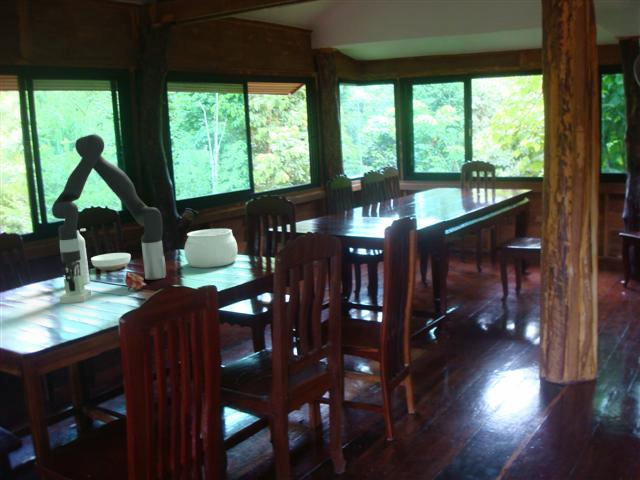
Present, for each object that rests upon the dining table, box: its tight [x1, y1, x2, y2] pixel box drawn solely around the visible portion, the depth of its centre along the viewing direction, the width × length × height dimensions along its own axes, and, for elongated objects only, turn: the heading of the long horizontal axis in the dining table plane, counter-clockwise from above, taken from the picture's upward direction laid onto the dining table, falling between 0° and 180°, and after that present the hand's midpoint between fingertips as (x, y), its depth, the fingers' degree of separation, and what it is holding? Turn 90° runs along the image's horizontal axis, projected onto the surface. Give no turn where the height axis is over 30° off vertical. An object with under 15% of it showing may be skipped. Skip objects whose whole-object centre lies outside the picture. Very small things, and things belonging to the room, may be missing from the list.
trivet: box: [59, 289, 93, 304], centre depth 287 cm, size 10×10×2 cm
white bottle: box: [76, 228, 91, 285], centre depth 317 cm, size 9×6×25 cm
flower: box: [124, 271, 147, 292], centre depth 297 cm, size 10×9×8 cm
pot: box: [184, 228, 239, 269], centre depth 345 cm, size 29×26×16 cm
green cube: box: [63, 275, 85, 294], centre depth 286 cm, size 6×6×6 cm
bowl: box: [90, 252, 132, 271], centre depth 350 cm, size 20×20×6 cm
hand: (75, 288), depth 286 cm, fingers closed on green cube, 6 cm apart
